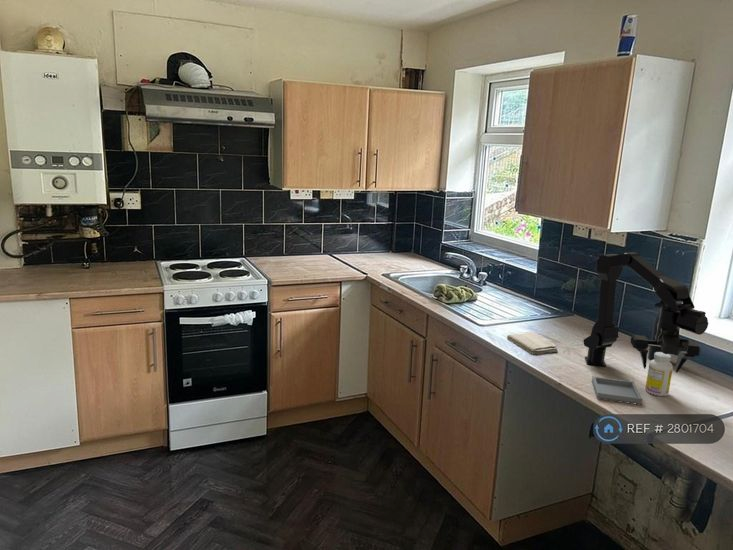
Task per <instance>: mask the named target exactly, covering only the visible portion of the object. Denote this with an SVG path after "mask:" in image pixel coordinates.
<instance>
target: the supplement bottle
mask: <svg viewBox="0 0 733 550" xmlns="http://www.w3.org/2000/svg"><path fill="white" fill-rule="evenodd" d="M654 358H655V359H654V360H649V363H648V368H647V376H646V381H645V391H646V392H647V393H649V394H650V393H651V395H653V394H654V396H656V395H657V397H665V396H668V395H669V392H670V387H671V381H672V375H673V370H674V369H673V368H674V366H673V364H672V363H671V360H672V354H664V353H662V352H656V353H655V354H654Z"/></svg>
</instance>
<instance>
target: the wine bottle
mask: <svg viewBox="0 0 733 550" xmlns="http://www.w3.org/2000/svg"><path fill="white" fill-rule="evenodd" d="M660 310H661V308H660V309H659V311H658V313H657V314H656V316H655V318H654V321H653V326H652V327H653V328H652V332H651V333H652V334H651V339H650V340H655V335H656V333H657V323H658V322H659V316H660ZM656 352H662V351H661V347H654V346H649V350H648V354H647V359H648V360H649V361H651V360H654V359H655V358H654V354H655V353H656Z"/></svg>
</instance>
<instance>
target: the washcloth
mask: <svg viewBox="0 0 733 550" xmlns="http://www.w3.org/2000/svg"><path fill="white" fill-rule="evenodd" d="M506 339H507V340H509V341H511V342H512V343H514V344H516V345H517V346H518V347H520V348H522V349H524V350H525V349H526V350H525V351H527V352H528V353H530V354H531V353H532V354H531V355H543V354H544V355H545V354H549V353H550V354H551V353H557V352H558V348H557V345H556V344H554V343H553V342H551V339H547V338H546V337H544V336H542V335H540V334H538V333H536V332H534V331H525V332H522V333H513V334H512V333H511V334H507V336H506Z"/></svg>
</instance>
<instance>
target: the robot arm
mask: <svg viewBox="0 0 733 550" xmlns="http://www.w3.org/2000/svg"><path fill="white" fill-rule="evenodd" d="M595 264H596V273H597V275H598V277H599V279H600V281H599V282H600V283H599V284H600V286H599V295H598V296H599V297H598V310H597V319H596V321H595V323H594V325H592V328H591V332H590V335H588V336H587V337H586V338H584V339H582V340H583V346H584V347H586V348H588V349H587V355H586V356H584V359H585V363H586V365H589V366H590V365H591V366H597V367H599V366H600V367H605V368H606V367H607V364H606V361H605V358H606V353H607V348H611V347H612V346H613V345H614V343H615V342H617V340H618V338H619V331H620V327H619V326H618V325H615V322H614V313H615V311H614V310H615V299H616V288H617V287H616V286H617V280H618V279H619V277H620V275H621V274H622V272H623V267H626V266H627V267H628V268H629V269H631V270H632V271H633V272H634V273H635V274H637V275H638V276H639V277H641V279H642V280H644V281H645V282H647V284H649V285H650V286H651V287H652V288H653V289H654V292H655V294H656V296H657V297H658V298H659V299H660V301H658V302H656V303H654V306H655V307H656V308H660V309H661V310H660V309H659V310H660V316H659V322H658V323H657V333H656V335H655V340H651V339H648V338H647V337H646V335H640V334H633V335H631V337H630V344H631V346H632V348H633V349H636V351H638V352H639V353H640V357H641V363H642V367H643V369H644V370H645V369H646V368H647V361H648V360H647V359H648V354H649V350H648V348H649V347H650V346H654V347H661V351H662V353H664V354H669V355H674V356H677V358H676V363H675V369H674V371H675V373H677V374H678V373H679V371H680V369H682V367H683V366H684V364H685V363H686V362H687V361H688V360H689V359H691V358H692V359H693V358H695V357H696V356H697V357H699V356H701V352H702V349H701V347H700V346H699V344H697V342H696V341H693V340H689V339H686V338H685V339H684V338H680V330H679V329H682V330H683V331H688V332H690V333H693V334H695V335H700V336H701V335H703V334H704V333H705V331H706V330H707V329H708V326H709V320H708V317H707V316H706V312H705V311H703V310H697V309H695V307H696V306H695V305H694V302H693V301H692V298H691V296H690V293H689V288H688V287H687V286H686V285H685V284H683V283H682V282H680V281H678V280H676V279H673V278H670V277H668V276H666V275H664V274H663V273H662V272H661V271H659V270H658V269H657V268H655V266H653V265H652V264H651V263H649V262H648V261H647V260H645V259H644V258H643V257H641V255H640V254H639V253H637V252H635V251H633V252H624V253H623V254H618V253H613V254H612V253H611V254H603V255H602V254H601V255H600V256H599V257H597V259H596V263H595Z"/></svg>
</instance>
